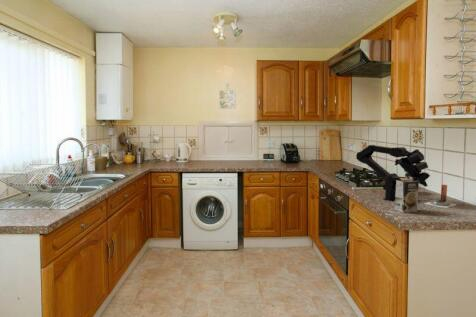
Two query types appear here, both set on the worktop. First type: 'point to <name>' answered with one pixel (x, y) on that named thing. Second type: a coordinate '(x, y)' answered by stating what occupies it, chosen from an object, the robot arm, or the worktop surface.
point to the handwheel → (442, 197)
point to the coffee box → (406, 195)
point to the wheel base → (440, 205)
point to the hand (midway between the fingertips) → (426, 186)
